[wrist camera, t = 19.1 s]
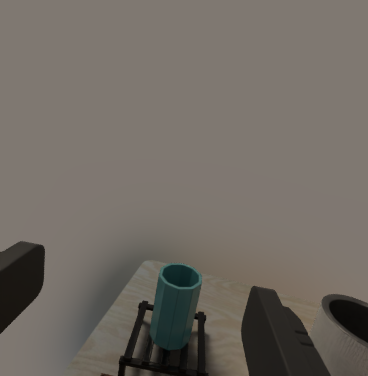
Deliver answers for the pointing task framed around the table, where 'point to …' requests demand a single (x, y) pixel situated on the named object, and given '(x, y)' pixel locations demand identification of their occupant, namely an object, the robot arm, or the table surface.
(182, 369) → the rack
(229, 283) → the table surface
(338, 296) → the planter
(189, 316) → the cup
